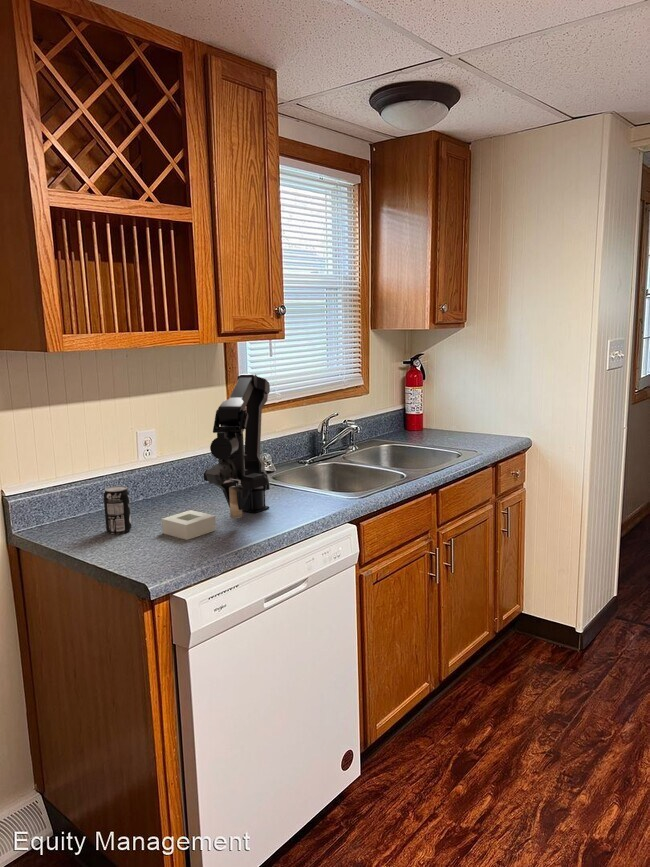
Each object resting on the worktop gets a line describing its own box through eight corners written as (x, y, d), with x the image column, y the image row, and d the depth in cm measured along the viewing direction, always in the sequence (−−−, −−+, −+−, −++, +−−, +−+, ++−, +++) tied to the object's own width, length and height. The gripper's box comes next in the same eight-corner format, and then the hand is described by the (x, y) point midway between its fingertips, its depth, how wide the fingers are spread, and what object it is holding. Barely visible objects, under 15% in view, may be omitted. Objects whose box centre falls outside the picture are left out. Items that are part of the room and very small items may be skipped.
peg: (236, 513, 183) (235, 485, 181) (244, 515, 181) (243, 486, 179) (227, 516, 180) (226, 487, 179) (236, 518, 178) (234, 489, 177)
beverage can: (122, 526, 186) (119, 484, 184) (136, 530, 181) (133, 487, 179) (101, 532, 181) (98, 489, 179) (115, 536, 176) (112, 492, 174)
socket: (191, 523, 186) (190, 510, 185) (216, 530, 180) (215, 515, 179) (162, 533, 178) (161, 518, 178) (187, 539, 172) (186, 525, 171)
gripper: (186, 453, 177) (190, 510, 180) (236, 460, 166) (239, 521, 168) (217, 446, 186) (220, 501, 188) (266, 453, 174) (269, 511, 177)
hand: (236, 508), depth 180 cm, fingers closed on peg, 3 cm apart
